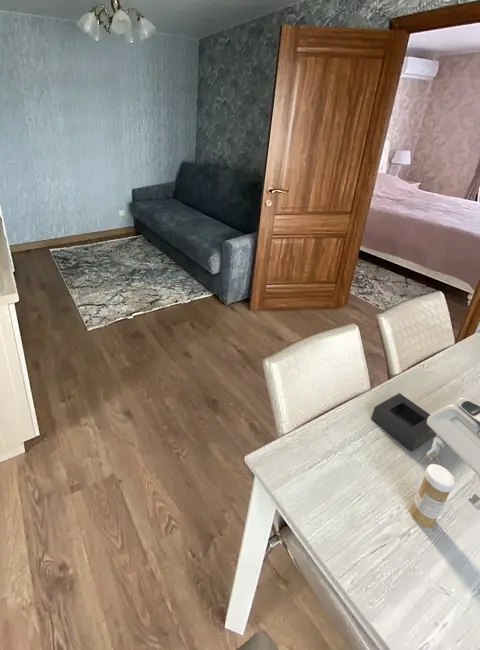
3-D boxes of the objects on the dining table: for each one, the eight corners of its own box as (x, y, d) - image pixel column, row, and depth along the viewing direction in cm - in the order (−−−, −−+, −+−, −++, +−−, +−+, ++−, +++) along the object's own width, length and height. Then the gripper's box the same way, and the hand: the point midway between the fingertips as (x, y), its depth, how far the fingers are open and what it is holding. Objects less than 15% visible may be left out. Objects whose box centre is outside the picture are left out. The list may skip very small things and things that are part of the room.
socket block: (395, 404, 100) (399, 392, 98) (436, 434, 91) (441, 422, 89) (370, 419, 95) (374, 406, 93) (411, 452, 86) (416, 439, 84)
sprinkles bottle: (412, 500, 75) (430, 458, 70) (437, 517, 72) (458, 474, 67) (406, 516, 72) (424, 473, 67) (432, 534, 69) (453, 491, 64)
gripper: (578, 498, 59) (510, 544, 61) (464, 403, 77) (415, 441, 79) (569, 485, 56) (499, 534, 58) (454, 391, 75) (403, 430, 77)
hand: (450, 480), depth 69 cm, fingers open, 8 cm apart
